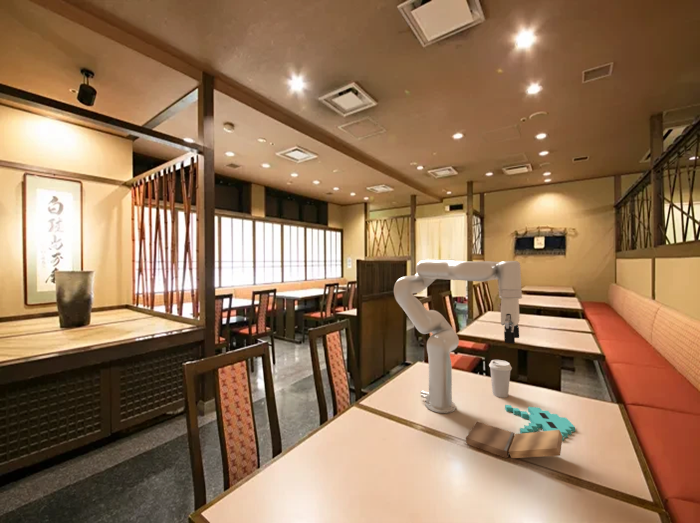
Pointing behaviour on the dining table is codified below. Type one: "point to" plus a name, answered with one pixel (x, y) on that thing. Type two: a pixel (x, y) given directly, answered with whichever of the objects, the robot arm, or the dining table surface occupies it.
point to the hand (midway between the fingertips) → (512, 340)
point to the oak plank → (536, 444)
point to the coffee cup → (500, 377)
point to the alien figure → (543, 421)
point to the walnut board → (490, 439)
